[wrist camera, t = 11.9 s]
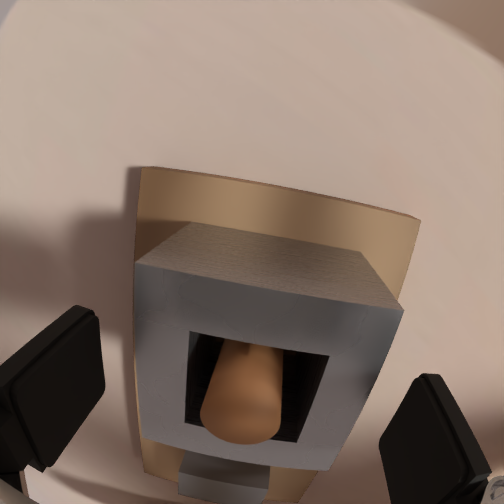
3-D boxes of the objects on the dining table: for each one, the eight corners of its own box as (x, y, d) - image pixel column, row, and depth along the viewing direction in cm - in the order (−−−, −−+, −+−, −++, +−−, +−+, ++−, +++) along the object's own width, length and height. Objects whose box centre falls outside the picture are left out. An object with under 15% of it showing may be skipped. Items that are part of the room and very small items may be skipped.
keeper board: (410, 215, 12) (513, 272, 5) (297, 490, 18) (295, 571, 11) (153, 166, 13) (37, 181, 6) (149, 460, 19) (117, 536, 12)
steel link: (360, 252, 12) (404, 310, 7) (319, 385, 14) (327, 470, 9) (192, 221, 12) (134, 262, 7) (180, 360, 14) (142, 437, 9)
